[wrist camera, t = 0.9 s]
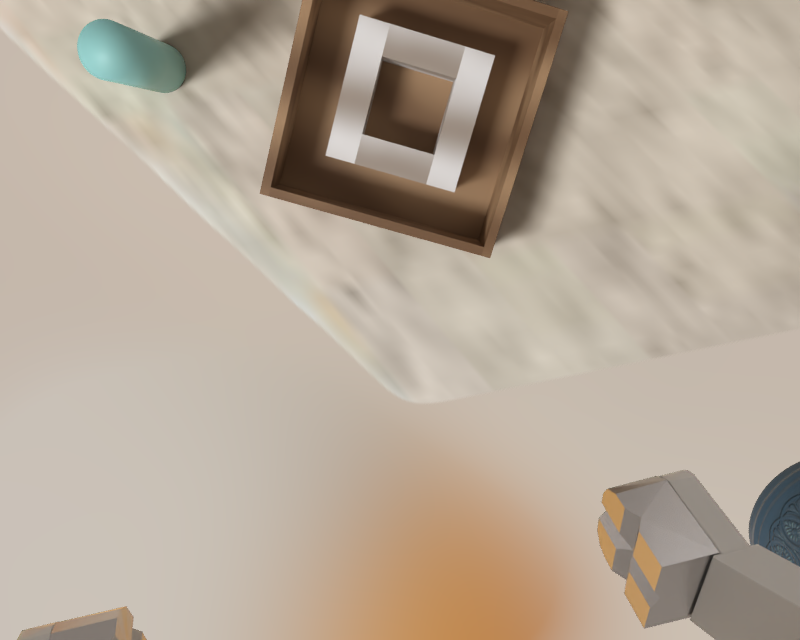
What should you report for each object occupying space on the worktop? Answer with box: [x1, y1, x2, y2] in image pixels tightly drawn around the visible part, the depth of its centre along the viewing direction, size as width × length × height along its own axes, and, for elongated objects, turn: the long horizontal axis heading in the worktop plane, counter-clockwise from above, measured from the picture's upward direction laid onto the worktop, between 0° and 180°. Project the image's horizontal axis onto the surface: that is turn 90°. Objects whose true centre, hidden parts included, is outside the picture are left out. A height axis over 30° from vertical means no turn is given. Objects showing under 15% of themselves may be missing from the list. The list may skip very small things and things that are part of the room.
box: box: [260, 0, 569, 258], centre depth 44 cm, size 16×16×4 cm
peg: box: [77, 19, 186, 93], centre depth 41 cm, size 3×3×9 cm
